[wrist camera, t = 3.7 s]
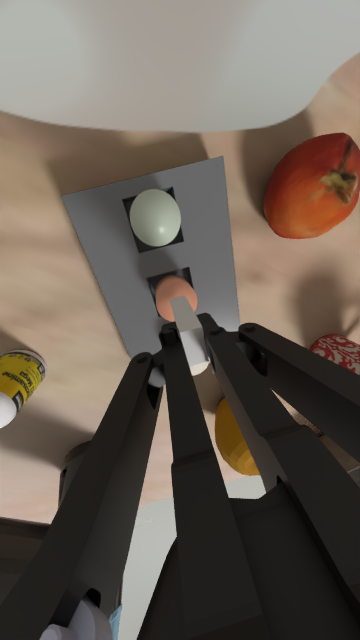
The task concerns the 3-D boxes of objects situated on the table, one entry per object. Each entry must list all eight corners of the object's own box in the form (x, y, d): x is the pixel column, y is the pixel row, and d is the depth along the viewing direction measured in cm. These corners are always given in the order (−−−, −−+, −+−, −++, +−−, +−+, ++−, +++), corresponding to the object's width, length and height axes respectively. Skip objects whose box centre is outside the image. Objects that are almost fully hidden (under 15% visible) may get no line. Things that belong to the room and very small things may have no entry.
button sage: (141, 248, 21) (139, 251, 17) (127, 203, 19) (122, 196, 15) (179, 238, 21) (185, 239, 18) (169, 192, 19) (174, 183, 16)
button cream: (175, 360, 28) (178, 379, 24) (167, 336, 26) (170, 352, 22) (203, 352, 28) (211, 370, 24) (198, 327, 26) (206, 342, 23)
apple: (244, 367, 35) (284, 423, 24) (277, 399, 40) (322, 457, 30) (192, 407, 37) (208, 473, 27) (229, 433, 42) (255, 497, 32)
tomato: (272, 253, 27) (317, 260, 19) (238, 192, 23) (278, 174, 16) (330, 204, 25) (403, 192, 18) (304, 130, 21) (382, 78, 14)
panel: (141, 367, 31) (140, 382, 28) (74, 201, 21) (60, 196, 18) (233, 341, 32) (243, 353, 29) (212, 167, 21) (223, 155, 18)
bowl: (293, 471, 54) (322, 519, 45) (282, 435, 46) (315, 485, 37) (356, 446, 53) (399, 489, 44) (356, 404, 45) (409, 448, 36)
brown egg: (160, 312, 24) (162, 326, 21) (150, 279, 23) (150, 288, 19) (193, 303, 25) (200, 315, 21) (186, 270, 23) (193, 277, 19)
